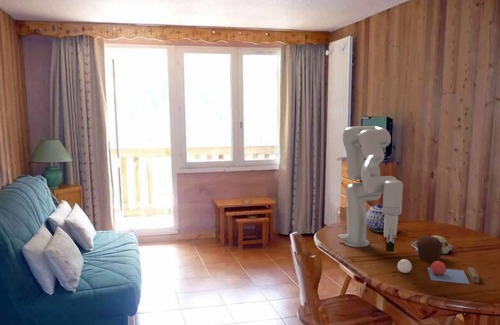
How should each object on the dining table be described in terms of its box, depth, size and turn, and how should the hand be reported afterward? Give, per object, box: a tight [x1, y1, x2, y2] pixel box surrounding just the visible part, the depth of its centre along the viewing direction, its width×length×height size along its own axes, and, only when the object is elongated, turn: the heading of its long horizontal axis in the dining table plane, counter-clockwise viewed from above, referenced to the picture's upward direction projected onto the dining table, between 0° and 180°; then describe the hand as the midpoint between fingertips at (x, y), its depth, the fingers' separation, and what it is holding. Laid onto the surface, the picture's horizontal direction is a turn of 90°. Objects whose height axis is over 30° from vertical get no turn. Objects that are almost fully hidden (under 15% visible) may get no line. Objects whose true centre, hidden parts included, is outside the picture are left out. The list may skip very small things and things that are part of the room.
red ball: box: [430, 260, 447, 275], centre depth 171 cm, size 6×6×6 cm
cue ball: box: [397, 258, 413, 274], centre depth 173 cm, size 6×6×6 cm
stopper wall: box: [467, 267, 480, 284], centre depth 167 cm, size 2×10×2 cm, turn 163°
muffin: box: [415, 235, 443, 263], centre depth 190 cm, size 12×11×10 cm
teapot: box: [366, 203, 385, 233], centre depth 237 cm, size 25×15×15 cm, turn 173°
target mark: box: [427, 266, 471, 285], centre depth 170 cm, size 14×14×1 cm
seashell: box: [432, 235, 450, 255], centre depth 200 cm, size 10×10×10 cm
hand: (389, 250), depth 177 cm, fingers closed
